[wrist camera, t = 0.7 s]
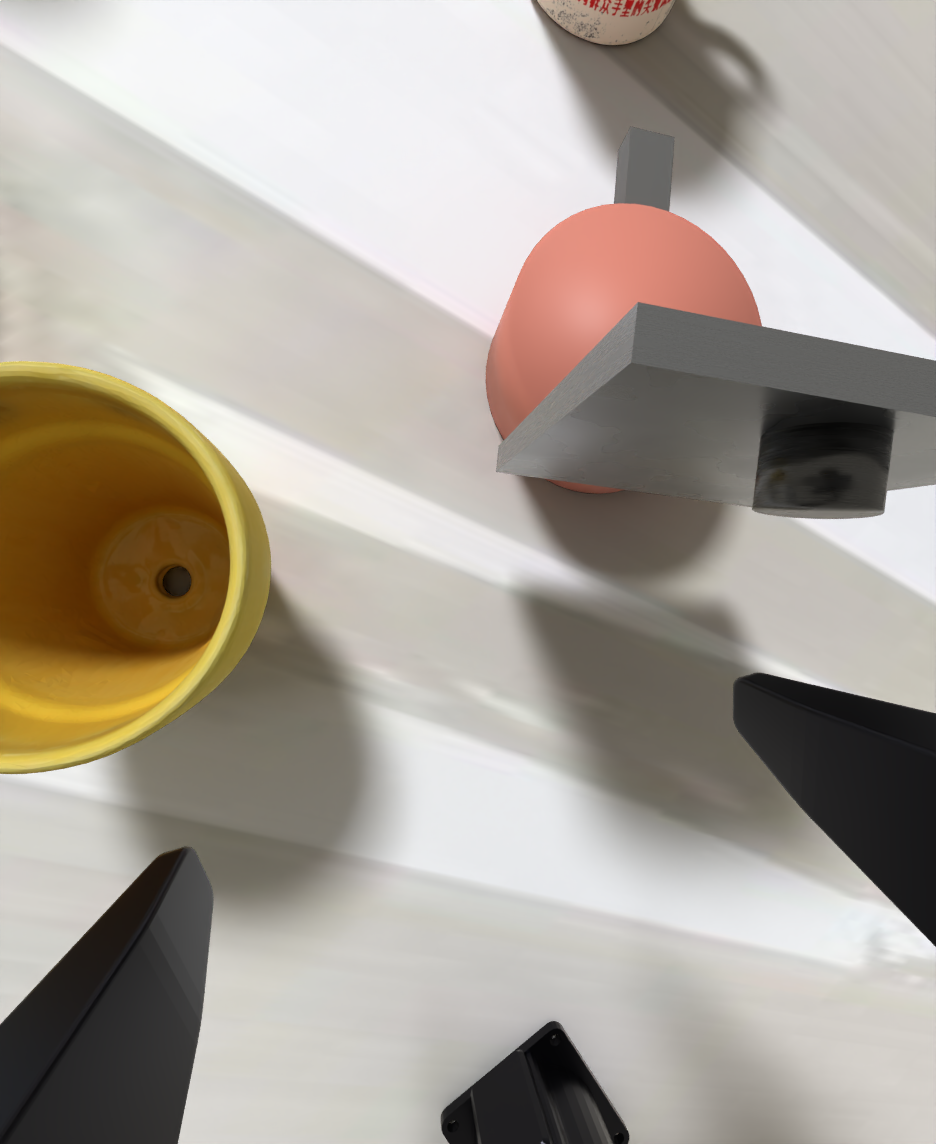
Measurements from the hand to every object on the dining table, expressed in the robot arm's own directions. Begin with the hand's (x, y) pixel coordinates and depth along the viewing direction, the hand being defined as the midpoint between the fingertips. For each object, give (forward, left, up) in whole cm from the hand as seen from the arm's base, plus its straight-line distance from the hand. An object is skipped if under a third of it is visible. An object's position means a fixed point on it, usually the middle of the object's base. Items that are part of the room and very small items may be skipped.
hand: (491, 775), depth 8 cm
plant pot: (+9, +7, -16) cm, 19 cm away
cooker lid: (+2, -11, -5) cm, 12 cm away
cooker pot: (+8, -16, -16) cm, 24 cm away
